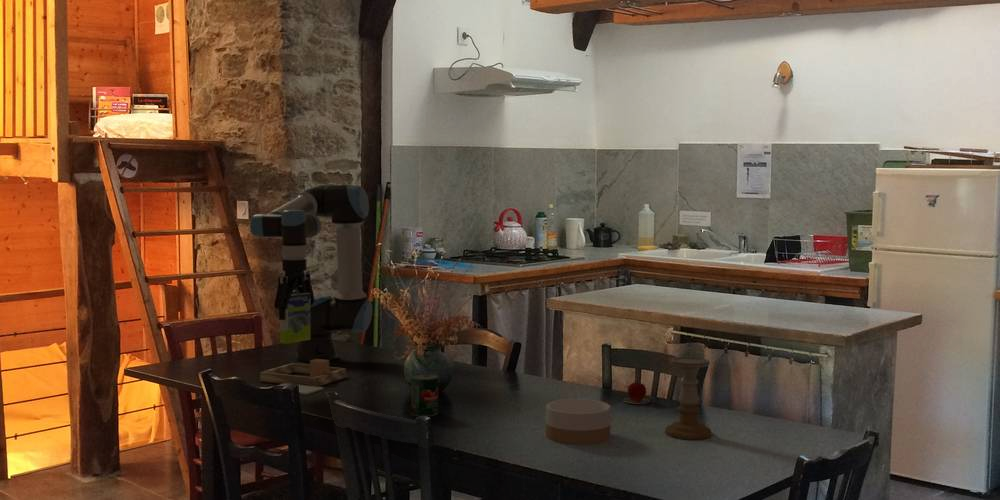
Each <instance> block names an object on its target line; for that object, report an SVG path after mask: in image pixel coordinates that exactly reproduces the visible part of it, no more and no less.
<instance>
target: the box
mask: <svg viewBox="0 0 1000 500" xmlns="http://www.w3.org/2000/svg"><path fill="white" fill-rule="evenodd" d="M285 297H286V296H285ZM310 300H311V293H300V292H299V290H298V288H295V289H294V291H292V294H291V296H290V299H289V302H288V305H287V308H286V309H288V330H280V329H279V343H280V344H286V345H287V344H293V343H299V341H306V340H311V315H310ZM283 306H284V305H283ZM278 319H279V318H278ZM279 323H280V319H279Z"/></svg>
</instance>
